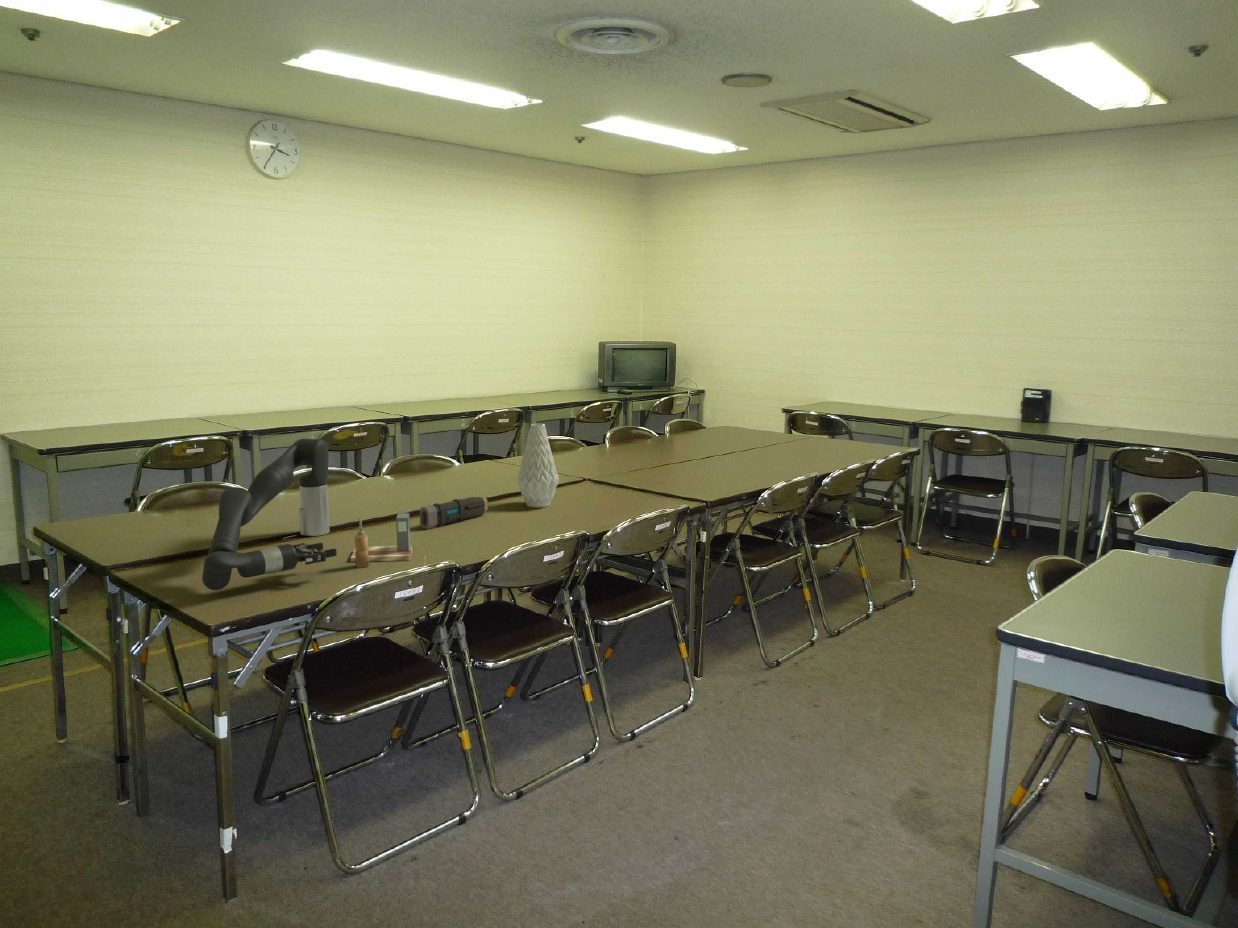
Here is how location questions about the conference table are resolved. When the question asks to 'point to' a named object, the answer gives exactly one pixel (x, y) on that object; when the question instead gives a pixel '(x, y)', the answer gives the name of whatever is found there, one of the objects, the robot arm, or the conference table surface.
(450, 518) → the tube
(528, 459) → the vase
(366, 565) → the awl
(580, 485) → the conference table surface
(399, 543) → the block
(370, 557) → the board
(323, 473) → the robot arm
